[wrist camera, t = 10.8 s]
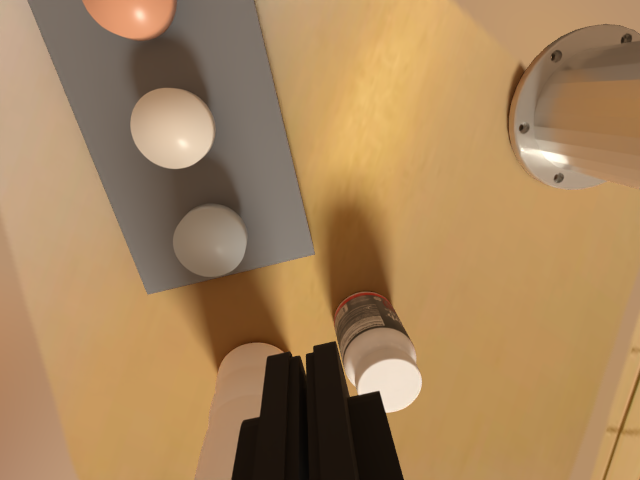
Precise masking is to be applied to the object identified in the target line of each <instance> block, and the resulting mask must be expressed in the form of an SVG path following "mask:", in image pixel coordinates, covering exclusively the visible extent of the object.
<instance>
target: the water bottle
mask: <svg viewBox="0 0 640 480" xmlns="http://www.w3.org/2000/svg"><path fill="white" fill-rule="evenodd" d="M280 353H284V352H283V351H281V350H280V349H279V348H277V347H275V346H273V345H270V344H266V343H248V344H244V345H241V346H239V347H237V348H235V349H233V350H232V351H231V352H229V353H228V354H227V355H226V357H225V358H224V359H223V361H222V363H221V365H220V367H219V370H218V374H217V380H216V387H215V394H214V397H213V400H212V403H211V407H210V412H209V427H208V430H207V433H206V436H205V439H204V442H203V446H202V449H201V453H200V457H199V461H198V466H197V470H196V474H195V479H194V480H231V478H232V472H233V466H234V461H235V455H236V449H237V443H238V438H239V432H240V427H241V424H242V422H243V420H246V419H251V418H256V417H260V409H261V401H262V393H263V384H264V376H265V368H266V360H267V357H268V356H271V355H275V354H280Z"/></svg>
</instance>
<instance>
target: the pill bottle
mask: <svg viewBox="0 0 640 480" xmlns="http://www.w3.org/2000/svg"><path fill="white" fill-rule="evenodd" d="M334 327H335V332H336V336H337V340H338V344H339V348H340V352H341V357H342V361H343V365H344V369H345V372H346V375H347V377H348V378H349V380H350V381H351V383H352V384H353V385H354V386H356V389H357V392H358V395H361V394H366V393H371V392H375V391H380V394H381V398H382V401H383V405H384V409H385V412H395V411H398V410H401V409H403V408H405V407H407V406H408V405H410V404H411V403H412V402H413V401H414V400H415V399H416V397H417V396H418V394H419V392H420V389H421V385H422V378H421V374H420V371H419V369H418V367H417V364H416V352H415V349H414V346H413V344H412V342H411V340H410V338H409V336H408V334H407V333H406V331H405V329H404V327H403V325H402V323H401V321H400V319H399V318H398V316H397V314H396V312H395V310H394V308H393V307H392V305H391V303H390V302H389V301H388V300H387V299H386V298H385V297H383V296H382V295H380V294H377V293H374V292H359V293H355V294H353V295H351V296H349V297H347V298H346V299H345V300H343V301H342V303H341V304H340V305H339V306H338V308H337V310H336V313H335V316H334Z"/></svg>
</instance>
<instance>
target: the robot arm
mask: <svg viewBox="0 0 640 480" xmlns="http://www.w3.org/2000/svg"><path fill="white" fill-rule="evenodd" d="M551 56H552V58H551ZM519 126H521V128H520V130H519ZM509 136H510V141H511V146H512V149H513V151H514V153H515V156H516V158H517V160H518V161H519V163H520V164H521V166H522V167H523V168H524V170H525V171H526V172H527V173H529V174H530V175H531V176H532V177H533V178H535V179H536V180H538V181H540V182H542V183H544V184H546V185H549V186H552V187H555V188H560V189H567V190H578V189H586V188H590V187H594V186H598V185H600V184H602V183H605V182H607V181H609V182H613V183H617V184H621V185H625V186H629V187H633V188H637V189H640V34H639V33H637V32H636V31H634V30H632V29H629V28H626V27H623V26H620V25H609V24H603V25H595V26H589V27H585V28H581V29H578V30H575V31H572V32H570V33H568V34H566V35H564V36H561V37H560V38H558V39H557V40H555V41H554V42H552V43H551V44H550V45H548V46H547V47H546V48H545V49H544V50H543V51H542V52H541V53H540V54H539V55H538V56H537V57H536V58H535V59H534V60H533V61H532V63H531V64H530V65H529V67H528V68H527V69H526V71H525V72H524V74H523V76H522V78H521V80H520V81H519V83H518V85H517V87H516V90H515V93H514V96H513V99H512V102H511V108H510V114H509ZM313 351H314V352H313V353H308V354H306V374H305V370H304V367H303V363H302V360H301V357H300V356H295V357H292V354H291V352H290V351H289V352H284V353H280V354H275V355H271V356H268V357H267V360H266V368H265V376H264V384H263V393H262V401H261V409H260V417H256V418H251V419H246V420H243V422H242V424H241V427H240V432H239V438H238V443H237V449H236V455H235V461H234V466H233V472H232V478H231V480H404V479H403V475H402V471H401V468H400V464H399V460H398V457H397V453H396V449H395V446H394V442H393V438H392V435H391V431H390V427H389V423H388V420H387V416H386V412H385V409H384V405H383V401H382V398H381V394H380V391H375V392H371V393H366V394H361V395H357V396H352V397H350V396H349V392H348V388H347V384H346V380H345V376H344V372H343V368H342V364H341V360H340V356H339V352H338V348H337V344H336V341H334V342H330V343H325V344H321V345H316V346H314V347H313Z"/></svg>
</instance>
